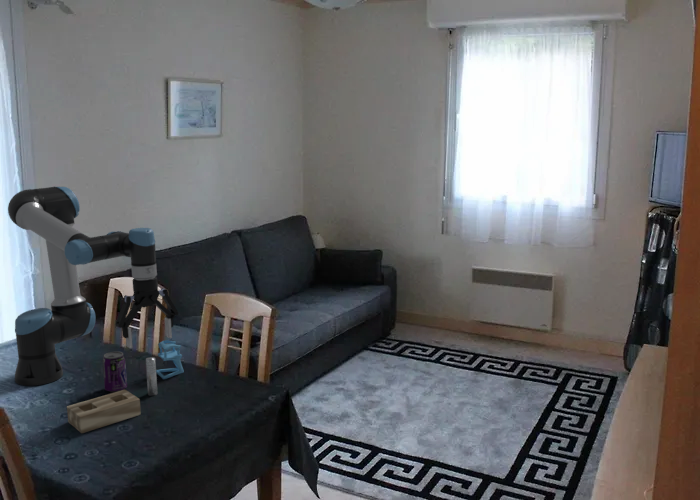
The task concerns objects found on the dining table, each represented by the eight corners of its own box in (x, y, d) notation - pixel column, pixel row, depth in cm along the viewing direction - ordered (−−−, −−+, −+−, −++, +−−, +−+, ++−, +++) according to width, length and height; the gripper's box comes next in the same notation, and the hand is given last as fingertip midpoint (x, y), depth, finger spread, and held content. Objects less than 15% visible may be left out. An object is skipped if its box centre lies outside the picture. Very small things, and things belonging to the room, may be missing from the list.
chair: (186, 374, 238) (184, 341, 236) (163, 379, 234) (161, 346, 231) (178, 367, 244) (176, 335, 242) (155, 372, 240) (153, 340, 238)
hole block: (68, 422, 202) (66, 406, 201) (126, 404, 214) (125, 389, 213) (81, 433, 195) (80, 417, 194) (140, 414, 206) (139, 399, 205)
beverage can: (120, 394, 222) (117, 359, 219) (100, 392, 223) (97, 357, 221) (131, 385, 228) (128, 351, 226) (112, 384, 230) (109, 350, 228)
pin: (146, 393, 222) (143, 358, 219) (154, 391, 224) (152, 356, 221) (150, 396, 220) (148, 361, 217) (159, 393, 222) (156, 358, 219)
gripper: (111, 286, 203) (117, 354, 207) (186, 272, 220) (190, 335, 224) (101, 282, 208) (106, 348, 213) (174, 269, 225) (178, 330, 229)
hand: (149, 342), depth 218 cm, fingers open, 13 cm apart
